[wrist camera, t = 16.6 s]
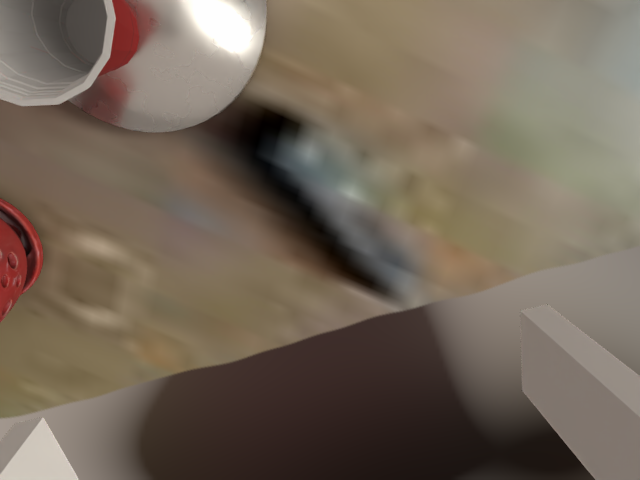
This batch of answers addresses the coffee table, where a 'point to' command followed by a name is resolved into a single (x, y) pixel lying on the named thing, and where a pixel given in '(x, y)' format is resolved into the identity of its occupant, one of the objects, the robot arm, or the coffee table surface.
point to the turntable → (180, 64)
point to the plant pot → (17, 256)
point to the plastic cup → (61, 47)
